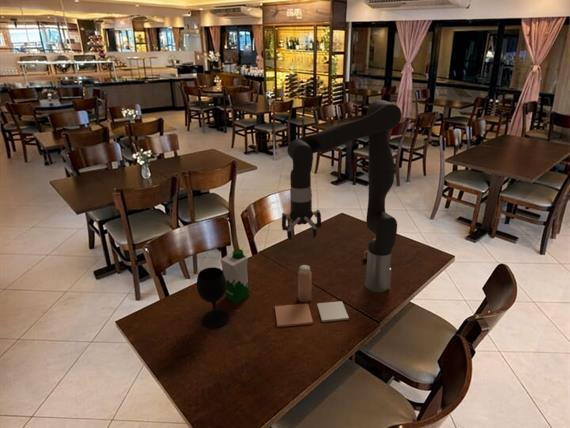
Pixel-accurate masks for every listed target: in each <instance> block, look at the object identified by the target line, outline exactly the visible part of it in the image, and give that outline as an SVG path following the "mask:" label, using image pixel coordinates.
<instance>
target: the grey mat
mask: <svg viewBox="0 0 570 428" xmlns="http://www.w3.org/2000/svg"><path fill="white" fill-rule="evenodd" d="M316 307H317V310H318V313H319V317H320V319H321V323H326V322H327V323H328V322H336V321H338V322H339V321H347V320H349V318H350V317H349V315H348V312H347V310H346V307H345V305H344V303H343V301H342V300H341V301H329V302H319V303H316Z"/></svg>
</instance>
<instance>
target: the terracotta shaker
mask: <svg viewBox="0 0 570 428" xmlns="http://www.w3.org/2000/svg"><path fill="white" fill-rule="evenodd" d="M297 282H298V283H297V288H298V293H297V294H298V295H297V297H298V301H300V302H301V303H308V302H309V303H310V302H311V300H312V271H311V266H309V265H307V264H302V265H300V266H299V270H298V272H297Z"/></svg>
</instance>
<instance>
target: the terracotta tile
mask: <svg viewBox="0 0 570 428" xmlns="http://www.w3.org/2000/svg"><path fill="white" fill-rule="evenodd" d="M274 311H275V319H276V326H277V328H280V327H292V326H293V327H294V326H302V325H303V326H304V325H314V320H313V317H312V314H311V309H310V307H309V303H308V302H306V303H299V304H298V303H296V304H286V305H275V306H274Z"/></svg>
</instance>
